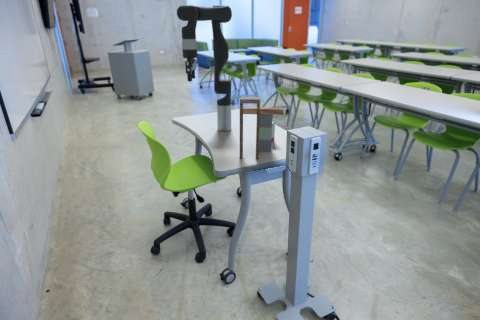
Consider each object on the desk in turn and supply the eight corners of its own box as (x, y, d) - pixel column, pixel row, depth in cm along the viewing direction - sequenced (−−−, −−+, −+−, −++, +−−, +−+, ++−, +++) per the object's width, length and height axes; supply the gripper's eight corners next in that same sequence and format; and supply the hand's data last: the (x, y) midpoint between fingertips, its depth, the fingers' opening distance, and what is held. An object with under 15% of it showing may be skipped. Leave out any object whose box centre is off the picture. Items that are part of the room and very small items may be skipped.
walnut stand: (240, 154, 171) (240, 96, 158) (258, 154, 170) (260, 96, 157) (239, 158, 165) (239, 99, 152) (258, 159, 165) (260, 99, 152)
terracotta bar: (242, 112, 171) (242, 107, 169) (282, 113, 170) (283, 107, 168) (242, 114, 168) (242, 108, 167) (283, 114, 167) (283, 109, 166)
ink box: (272, 138, 193) (273, 120, 188) (274, 141, 189) (275, 123, 184) (258, 139, 192) (259, 121, 187) (260, 142, 187) (261, 123, 182)
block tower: (256, 147, 180) (257, 112, 172) (270, 147, 180) (272, 112, 171) (256, 151, 175) (257, 115, 166) (270, 151, 175) (272, 115, 166)
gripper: (194, 49, 154) (195, 82, 161) (199, 47, 167) (200, 77, 174) (179, 49, 154) (181, 82, 161) (185, 46, 167) (187, 77, 174)
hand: (191, 79), depth 167 cm, fingers open, 8 cm apart
